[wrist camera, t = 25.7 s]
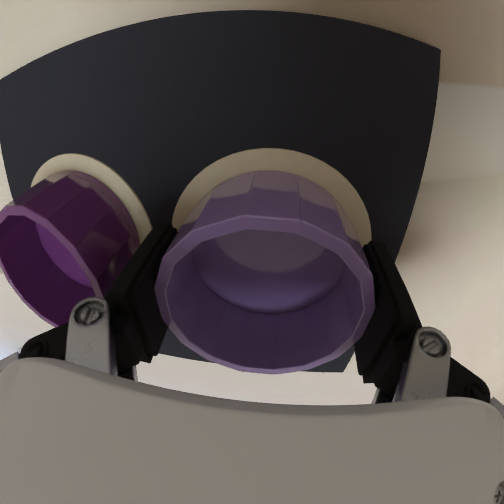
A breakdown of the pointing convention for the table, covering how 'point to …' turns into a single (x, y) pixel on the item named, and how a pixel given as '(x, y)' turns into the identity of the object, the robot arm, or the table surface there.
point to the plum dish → (65, 243)
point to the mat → (230, 117)
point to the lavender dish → (266, 276)
